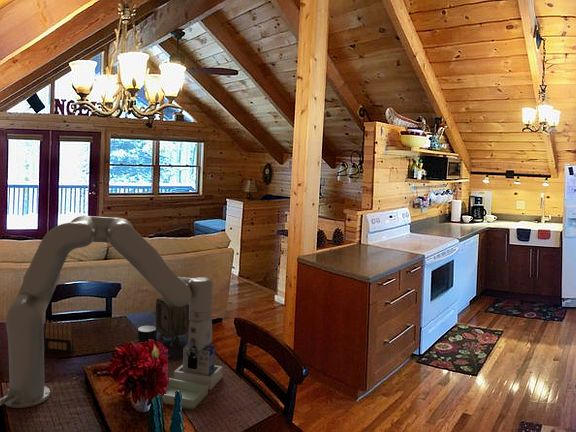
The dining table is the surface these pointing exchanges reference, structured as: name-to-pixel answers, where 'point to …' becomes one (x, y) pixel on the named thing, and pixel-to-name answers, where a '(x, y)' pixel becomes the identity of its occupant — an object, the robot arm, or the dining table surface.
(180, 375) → the tray
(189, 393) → the parts tray
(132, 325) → the dining table surface
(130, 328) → the dining table surface
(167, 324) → the ring-top lantern
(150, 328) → the ink bottle
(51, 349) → the ammunition clip
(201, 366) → the ink cartridge box
